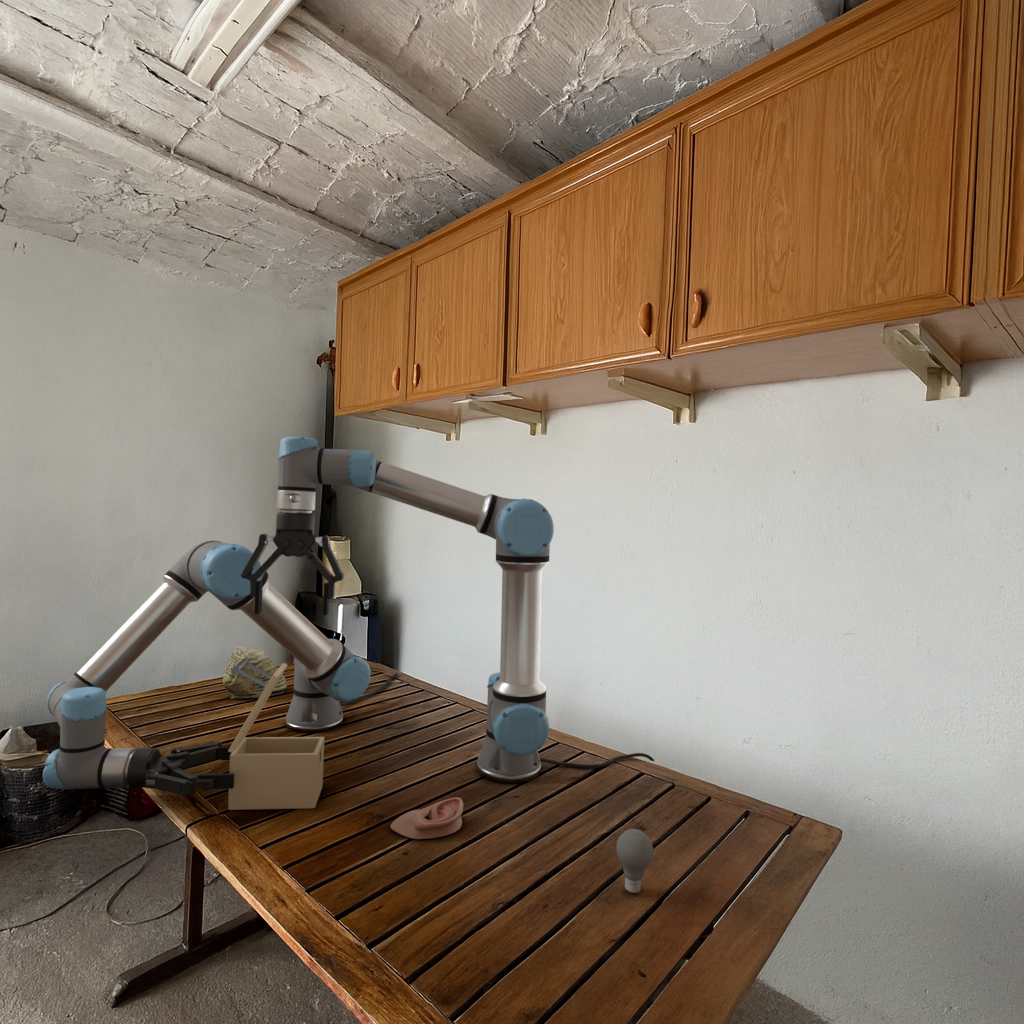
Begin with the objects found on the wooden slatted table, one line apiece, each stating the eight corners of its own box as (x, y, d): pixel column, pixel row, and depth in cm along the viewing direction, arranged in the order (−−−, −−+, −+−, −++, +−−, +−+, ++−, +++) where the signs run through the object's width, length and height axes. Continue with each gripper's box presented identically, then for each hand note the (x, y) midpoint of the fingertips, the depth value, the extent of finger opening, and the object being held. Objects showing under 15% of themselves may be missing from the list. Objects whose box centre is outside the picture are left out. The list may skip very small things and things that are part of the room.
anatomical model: (384, 813, 120) (406, 787, 131) (383, 834, 120) (405, 806, 131) (452, 824, 117) (468, 796, 128) (451, 845, 117) (467, 815, 128)
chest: (322, 787, 138) (324, 736, 138) (314, 808, 129) (317, 754, 129) (241, 788, 136) (243, 737, 136) (228, 810, 127) (230, 755, 126)
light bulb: (610, 879, 108) (613, 822, 108) (644, 879, 109) (647, 822, 109) (619, 902, 102) (622, 840, 102) (655, 901, 103) (658, 840, 103)
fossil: (218, 695, 195) (220, 647, 195) (278, 685, 208) (279, 640, 207) (228, 703, 189) (230, 653, 188) (289, 692, 201) (290, 645, 201)
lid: (287, 664, 137) (250, 645, 136) (277, 677, 127) (237, 656, 126) (246, 735, 136) (208, 716, 135) (232, 753, 126) (191, 733, 125)
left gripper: (158, 760, 141) (258, 759, 144) (102, 817, 116) (223, 814, 119) (159, 727, 141) (259, 726, 144) (103, 776, 116) (225, 774, 119)
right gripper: (227, 509, 126) (223, 615, 127) (355, 514, 130) (351, 618, 130) (238, 508, 134) (234, 609, 134) (359, 513, 137) (355, 611, 137)
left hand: (243, 766), depth 131 cm, fingers open, 13 cm apart
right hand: (292, 613), depth 132 cm, fingers open, 13 cm apart
